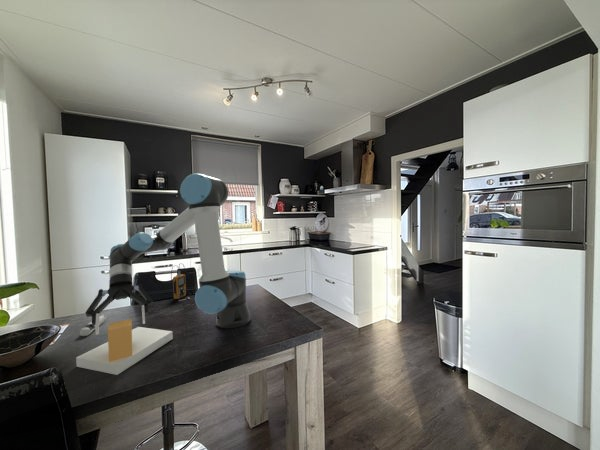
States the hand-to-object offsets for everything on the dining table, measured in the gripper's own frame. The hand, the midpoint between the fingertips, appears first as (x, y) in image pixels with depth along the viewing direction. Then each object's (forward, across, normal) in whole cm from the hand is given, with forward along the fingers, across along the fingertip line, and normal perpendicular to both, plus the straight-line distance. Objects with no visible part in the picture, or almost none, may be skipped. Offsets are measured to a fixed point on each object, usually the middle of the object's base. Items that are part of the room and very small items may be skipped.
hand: (121, 327), depth 87 cm
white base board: (+8, -2, -4) cm, 9 cm away
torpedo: (-14, +10, -27) cm, 32 cm away
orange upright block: (+11, 0, +3) cm, 11 cm away
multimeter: (-28, -29, -40) cm, 56 cm away
